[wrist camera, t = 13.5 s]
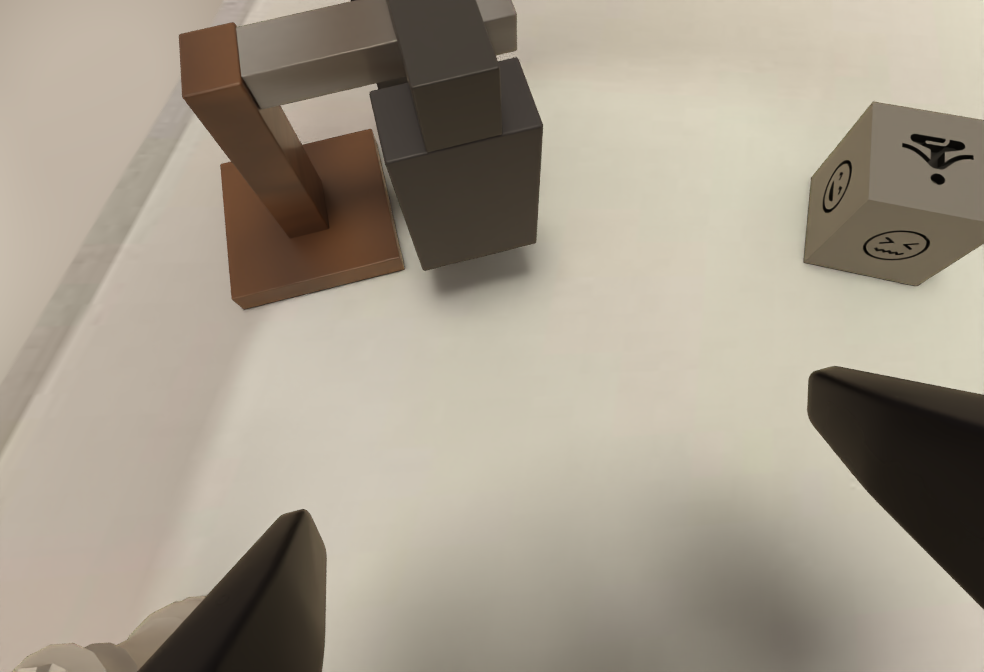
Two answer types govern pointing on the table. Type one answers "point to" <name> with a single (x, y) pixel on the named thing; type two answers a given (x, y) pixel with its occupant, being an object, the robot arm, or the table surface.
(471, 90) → the dark blocky bridge
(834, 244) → the dice cube
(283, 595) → the robot arm
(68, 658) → the rook chess piece
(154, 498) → the table surface
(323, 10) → the hanger
